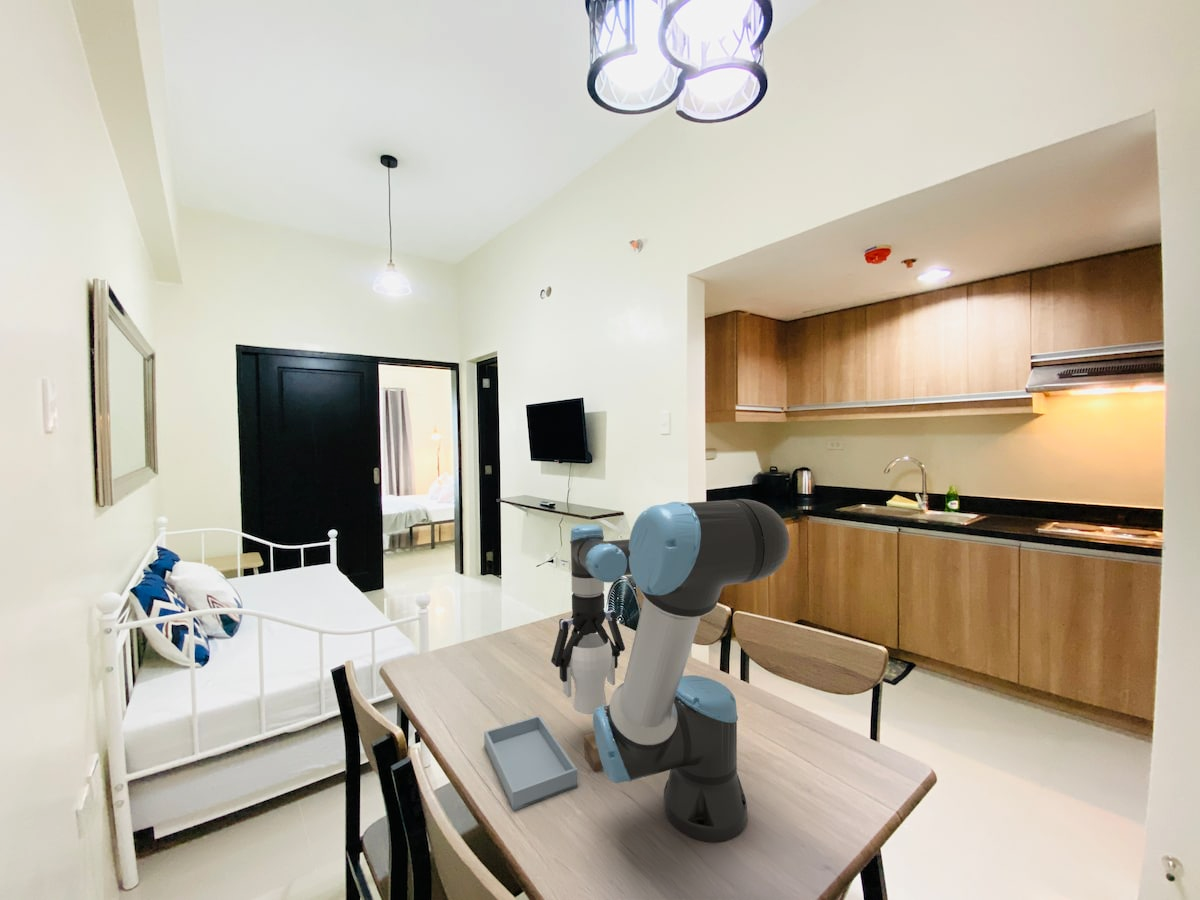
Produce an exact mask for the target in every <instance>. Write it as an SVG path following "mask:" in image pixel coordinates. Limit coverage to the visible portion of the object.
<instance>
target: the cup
mask: <svg viewBox="0 0 1200 900" xmlns="http://www.w3.org/2000/svg"><path fill="white" fill-rule="evenodd" d="M609 638H610V637H609ZM609 638H608V642H607V644H605V643H604V642H603V640H602V639H601V637H600V636H599V634H598V633H594V634H593V633H590V634H588V635H584V636H583V638H582V639H581V640H580V641H579V643H578V645H577V647H575V646H573V651H572V656H571V660H570V662H569V664H568V665H569V666H570V667H571V679H572V680H573V684H574V695H573V696H574V697H573V702H572V704H573V705H572V707H573V709H574V710H575V711H576V712H577V713H580V714H585V715H593V713H594V711H595V709H596V708H599V707H601V706H602V705H604V706H608V704H607V697H606V696H607V695H606V691H605V685H606V680H607V675H608V673H609V671H610V667H611V663H612V648H611V644H610V640H609Z"/></svg>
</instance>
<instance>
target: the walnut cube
mask: <svg viewBox="0 0 1200 900" xmlns="http://www.w3.org/2000/svg"><path fill="white" fill-rule="evenodd" d="M583 753H584V754H583V756H584V757H583V758H584V759H585V761H586V762H587V764H588V765H589V767H590V768H591V769H592V771H593V772H594V773H596V772H599V771H602V770H604V768H603V766H602V763H601V759H600V756H599V752H598V748H597V744H596V739H595V733H594V732H590V733H588V734H584V735H583Z"/></svg>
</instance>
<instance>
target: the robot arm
mask: <svg viewBox="0 0 1200 900" xmlns="http://www.w3.org/2000/svg"><path fill="white" fill-rule="evenodd" d="M629 536H630V537H629V539H619V540H617V539H616V540H607V541H606V540H604V538H605V536H604V529H603V527H602V526H600V525H599V524H578V525H575V526H573V527H572V528H571V530H570V541H569V543H570V560H571V561H570V563H571V566H570V567H571V568H570V570H571V576H570V577H571V592H572V594H571V610H572V611H571V613H572V615H571V616H570V618H568V619H567V618H566V619H563V618H560V619H559V621H558V623H559V625H558V627H559V628H558V629H559V630H558V634H557V638H556V641H555V645H554V649H553V653H552V656H551V660H550V661H551V664H553V665H554V666H555V668H559V679H560V681H562V683H563V686H562V687H563V693H564V694H565V696H566V697H567V698H572V676H571V667H570V666H569V665H568V664H569V662H570V660H571V656H572V651H573V646H575V647H577V645H578V643H579V641H580V640H581V639H582V638H583V636H584V635H588V634H590V633H593V634H594V633H598V634H599V636H600V637H601V639H602V640H603V642H604V643H605V644H607V642H608V638H609V640H610V644H611V648H612V663H611V667H610V671H609V673H608V675H607V677H606V681H607V682H608V683H609V684H610V685H612V686H615V685H616V669H618V665H619V663H618V661H619V659H618V658H619V657H620V656H621V652H624V651H625V649H626V646H625V643H624V641H623V637H622V634H621V631H620V628H619V624H618V622H617V619H618V617H617V616H618V614H617V612H615V611H614V610H613V609H608V610H607V611H605V594H604V591H605V583H614V582H616V581H619V579H621V578H622V577H625V576H631V577H632V579H633V582H634V584H635V585H636V586H637V588H638V589H639V591H640V593H641V595H642V597H643V602H642V604H641V605H642V606H641V608H640V609H641V610H640V613H639V618H638V622H637V627H636V630H635V634H634V639H633V643H632V646H631V651H630V656H629V659H628V662H627V668H626V672H625V677H624V681H623V683H621V684H620V685H618V686H617V687H616V688H615V689H614V690H613V693H612V694H611V697H610V701H609V704H607V706H604V705H602V706H601V707H599V708H596V709H595V711H594V713H593V714H592V724H593V731H594V732H593V733H595V739H596V744H597V748H598V752H599V756H600V759H601V763H602V766H603V768H604V769H603V771H604V773H605V776H606V777H607V778H608V780H609V781H610V782H612V783H614V784H620V783H621V784H622V783H625V782H626V783H627V782H629V783H631V782H632V781H636V780H638V779H642V778H646V777H649V776H650V777H651V776H654V775H657V774H660V773H664V772H667V771H669V775H668V779H667V780H666V782H665V785H664V787H663V788H664V789H663V810H664V813H665V816H666V817H667V819H668V821H669V822H670V823H671V825H673V826H674V828H676V829H677V830H678V831H679V832H681V833H682V834H684V835H686V836H687V837H690V838H692V839H695V840H699V841H703V842H709V843H710V842H711V843H712V842H713V843H716V842H717V843H718V842H725V841H727V840H728V841H729V840H731V839H733V838H735V837H736V836H738V835H739V834H740V833H741V832H742V831H743V830H744V828H745V827H746V824H747V818H748V804H747V803H748V802H747V799H746V796H745V792H744V790H743V786H742V783H741V781H740V777H739V774H738V770H737V769H738V768H737V767H738V766H737V765H738V759H737V758H738V757H737V755H738V753H737V752H738V751H737V750H738V740H737V738H738V731H737V730H738V722H737V721H738V720H739V716H738V710H737V700H736V698H735V695H734V694H733V692H732V690H730V688H728V687H727V686H725V684H723V683H721V682H719V681H717V680H715V679H712V678H709V677H705V676H702V675H688V674H687V675H683V674H684V671H685V668H686V666H687V661H688V658H689V656H690V652H691V649H692V646H693V643H694V640H695V637H696V633H697V630H698V627H699V624H700V621H701V618H702V617H705V616H707V615H709V614H710V613H713V611H714V610H715V608H716V607H717V605H718V602H719V599H720V597H721V596H720V595H721V593H722V590H723V588H724V587H726V586H730V585H732V586H733V585H737V584H745V583H746V584H747V583H751V582H752V583H753V582H757V581H760V580H764V579H766V578H768V577H770V576H772V575H773V574H775V573H776V572H777V571H778V570H780V568H781V567H782V566H783V564H784V562H785V561H786V559H787V558H788V555H789V551H790V541H791V539H790V534H789V531H788V527H787V525H786V523H785V521H784V520H783V518H782V517H781V516H780V514H778V513H777V512H776V511H775V510H774V509H773V508H772V507H770V506H769V505H767V504H764V503H762V502H759V501H757V500H751V499H745V498H737V499H728V500H727V499H725V500H711V501H698V502H696V501H695V502H683V501H671V502H668V503H665V504H656V505H652V506H649V507H648V508H646V509H644V510H643V511H642V512H641V513H640V514H639V516H637V518H636V520H635V522H634V524H633V526H632V529H631V532H630V535H629ZM605 619H606V621H607V625H608V627H609V630H610V633H611V636H612V639H613V641H614V642H613V641H612V639H611V638H610V636H609V635H608V633H607V631H606V629H605V628H604V625H603V623H604V622H605ZM571 626H573V629H572V630H571ZM569 630H571V632H570V633H571V635H570V636H569ZM568 636H569V639H568Z"/></svg>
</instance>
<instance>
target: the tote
mask: <svg viewBox="0 0 1200 900" xmlns="http://www.w3.org/2000/svg"><path fill="white" fill-rule="evenodd" d="M483 734H484V735H483V738H484V739H483V740H484V741H483V742H484V746H483V747H484V749H485V751H486V754H487V756H488V758H489V760H490V762H491V765H492V767H493V769H494V771H495V774H496V776H497V778H498V780H499V782H500V785H501V787H502V789H503V792H504V793H505V796H506V799H507V801H508V803H509V804H510V807H511V810H512V811H513V812H516V811H517V810H520V809H523V808H525V807H528V806H531V805H533V804H536V803H538V802H542V801H543V800H547V799H549V798H552V797H554V796H557V795H559V794H562V793H565V792H567V791H570V790H573V789H576V788H578V783H579V782H578V768H577V766H576V765H575V764H574V762H573V761H572V760H571V758H570V757H569V756H568V754H567V752H566V751H565V749H564V748H563V746H562V745H561V744H560V742H559V741H558V739H557V738H556V737H555V735H554V733H552V731H551V729H550V728H549V727H548V725H547V723H545V721H544V720H543V718H542V717H541V715H540V714H539V715H536V716H533V717H529V718H525V719H523V720H519V721H515V722H511V723H508V724H505V725H502V726H499V727H498V726H497V727H495V728H491V729H487V730H485V731H483Z"/></svg>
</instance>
